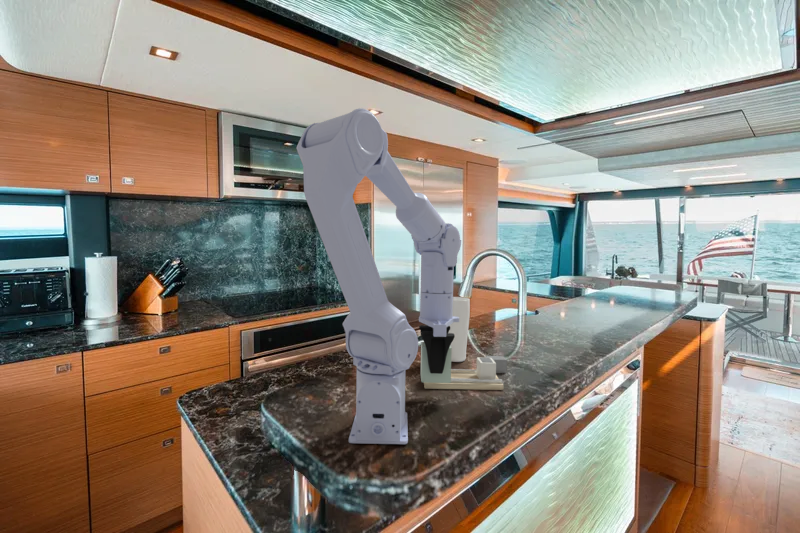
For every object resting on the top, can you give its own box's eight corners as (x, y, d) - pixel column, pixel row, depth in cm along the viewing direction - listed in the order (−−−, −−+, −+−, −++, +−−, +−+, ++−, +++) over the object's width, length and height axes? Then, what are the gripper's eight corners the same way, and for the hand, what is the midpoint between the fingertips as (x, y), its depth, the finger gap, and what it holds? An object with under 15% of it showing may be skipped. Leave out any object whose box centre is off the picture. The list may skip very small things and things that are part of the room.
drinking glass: (435, 359, 91) (436, 298, 91) (451, 354, 96) (452, 296, 96) (458, 365, 87) (459, 300, 86) (474, 359, 92) (475, 298, 91)
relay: (506, 373, 82) (506, 359, 82) (488, 373, 82) (488, 359, 82) (503, 369, 85) (503, 356, 85) (485, 368, 85) (485, 355, 85)
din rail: (502, 383, 72) (502, 380, 72) (424, 381, 72) (424, 378, 72) (494, 372, 79) (494, 369, 79) (422, 371, 79) (422, 368, 79)
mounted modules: (495, 381, 74) (496, 362, 73) (429, 379, 74) (429, 361, 74) (490, 374, 78) (491, 357, 77) (427, 373, 78) (428, 356, 78)
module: (450, 382, 64) (451, 347, 64) (421, 382, 64) (422, 347, 64) (447, 375, 68) (448, 342, 68) (420, 374, 68) (421, 341, 68)
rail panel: (503, 389, 72) (503, 384, 72) (424, 388, 72) (424, 383, 72) (493, 376, 80) (493, 371, 80) (422, 374, 80) (422, 370, 80)
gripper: (466, 297, 59) (464, 383, 59) (453, 288, 73) (452, 357, 74) (421, 296, 59) (419, 382, 59) (417, 288, 73) (416, 357, 74)
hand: (435, 368), depth 66 cm, fingers closed on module, 4 cm apart
